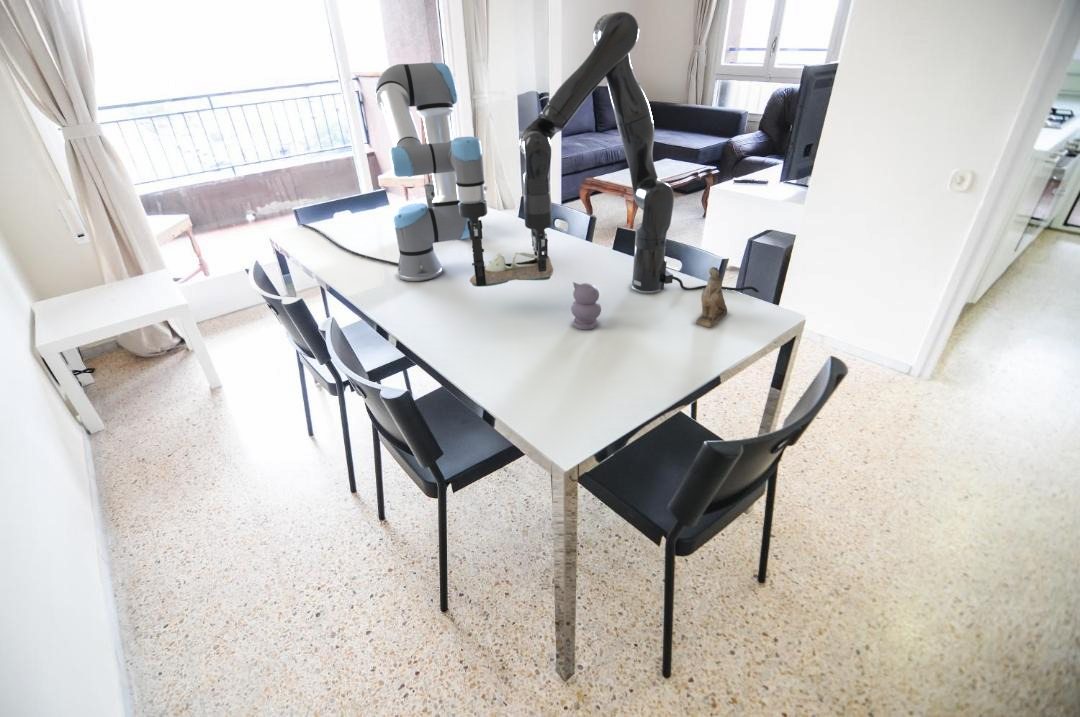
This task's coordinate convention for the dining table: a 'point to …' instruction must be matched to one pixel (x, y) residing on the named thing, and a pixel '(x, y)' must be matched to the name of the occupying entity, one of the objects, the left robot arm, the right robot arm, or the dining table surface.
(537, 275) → the speckled felt slipper
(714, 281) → the worn brown figurine
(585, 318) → the cat figurine
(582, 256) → the dining table surface
